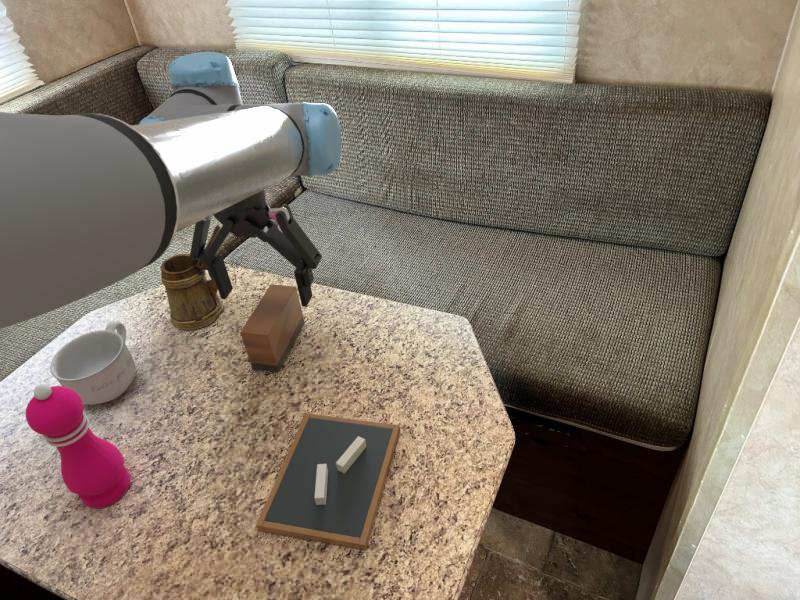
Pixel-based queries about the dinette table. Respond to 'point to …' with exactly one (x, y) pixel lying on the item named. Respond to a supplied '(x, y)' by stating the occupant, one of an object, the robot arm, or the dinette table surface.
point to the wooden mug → (190, 291)
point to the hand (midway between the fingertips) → (266, 297)
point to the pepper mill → (78, 446)
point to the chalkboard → (331, 482)
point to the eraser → (273, 328)
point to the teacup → (96, 364)
